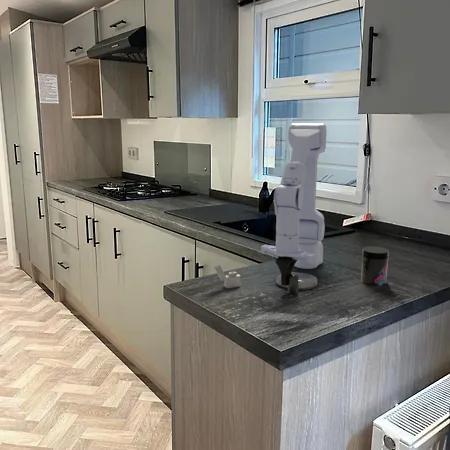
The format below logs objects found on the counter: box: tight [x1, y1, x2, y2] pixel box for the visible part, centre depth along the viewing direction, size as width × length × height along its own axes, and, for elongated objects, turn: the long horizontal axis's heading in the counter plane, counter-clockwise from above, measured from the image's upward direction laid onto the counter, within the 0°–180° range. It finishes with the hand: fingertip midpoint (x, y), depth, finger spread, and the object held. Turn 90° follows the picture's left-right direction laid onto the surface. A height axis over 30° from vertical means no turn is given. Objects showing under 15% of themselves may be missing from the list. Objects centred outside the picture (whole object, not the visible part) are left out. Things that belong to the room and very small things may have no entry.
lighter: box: [213, 263, 242, 289], centre depth 122 cm, size 7×2×8 cm, turn 112°
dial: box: [275, 271, 318, 296], centre depth 123 cm, size 15×11×5 cm
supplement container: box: [360, 246, 390, 287], centre depth 125 cm, size 7×7×10 cm
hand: (286, 284), depth 118 cm, fingers closed, pressing on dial
